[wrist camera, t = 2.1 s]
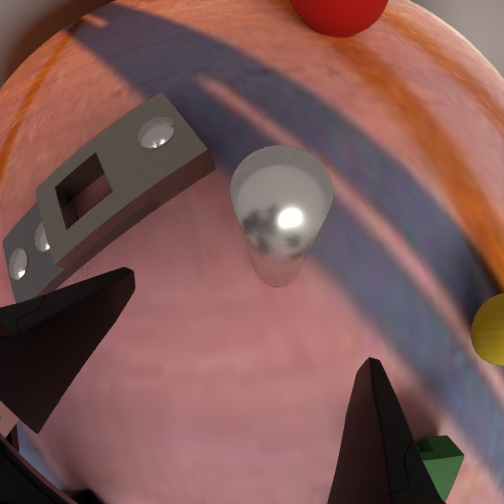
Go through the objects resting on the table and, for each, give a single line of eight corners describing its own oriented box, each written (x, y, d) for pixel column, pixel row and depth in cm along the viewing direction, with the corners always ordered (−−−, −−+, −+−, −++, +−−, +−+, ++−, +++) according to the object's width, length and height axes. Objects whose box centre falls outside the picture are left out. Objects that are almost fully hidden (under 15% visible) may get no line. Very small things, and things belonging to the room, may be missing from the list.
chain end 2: (28, 314, 21) (17, 312, 20) (11, 244, 24) (1, 240, 22) (160, 205, 23) (152, 197, 21) (125, 141, 25) (117, 132, 23)
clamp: (371, 439, 21) (390, 438, 14) (428, 437, 19) (467, 431, 12) (344, 543, 14) (348, 580, 7) (403, 541, 12) (428, 572, 5)
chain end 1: (75, 271, 22) (52, 264, 19) (53, 200, 24) (34, 188, 21) (215, 169, 23) (207, 147, 20) (171, 110, 25) (161, 90, 22)
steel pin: (272, 295, 20) (269, 258, 8) (247, 259, 21) (211, 178, 9) (308, 270, 20) (353, 200, 8) (283, 235, 21) (291, 130, 9)
